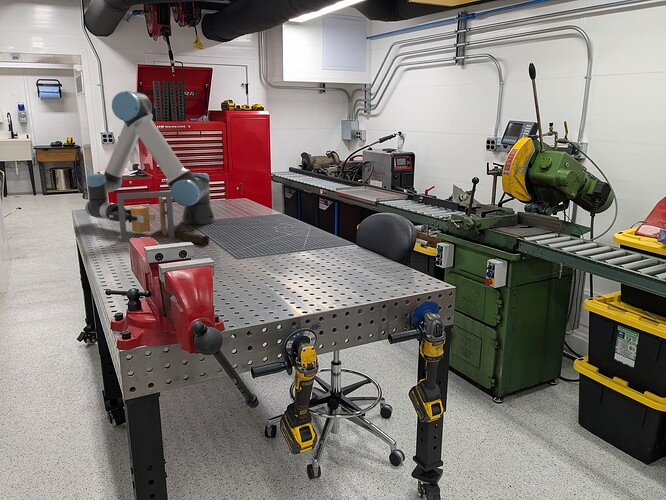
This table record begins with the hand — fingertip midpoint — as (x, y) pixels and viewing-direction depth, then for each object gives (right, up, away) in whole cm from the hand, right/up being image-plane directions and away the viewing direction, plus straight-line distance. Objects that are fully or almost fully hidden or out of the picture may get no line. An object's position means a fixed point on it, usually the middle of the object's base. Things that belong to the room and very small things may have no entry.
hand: (148, 218), depth 208 cm
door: (+4, -5, +8) cm, 10 cm away
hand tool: (+19, -10, -6) cm, 22 cm away
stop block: (-5, -5, +4) cm, 8 cm away
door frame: (+1, -8, -2) cm, 9 cm away
